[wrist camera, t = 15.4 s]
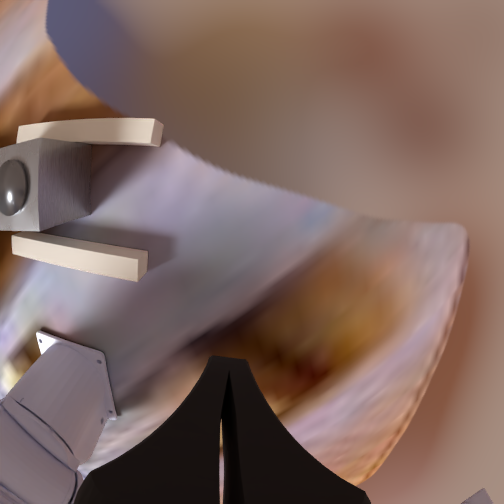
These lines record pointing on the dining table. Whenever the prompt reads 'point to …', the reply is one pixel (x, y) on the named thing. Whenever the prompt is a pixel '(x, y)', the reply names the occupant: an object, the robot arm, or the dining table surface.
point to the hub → (43, 184)
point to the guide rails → (79, 251)
